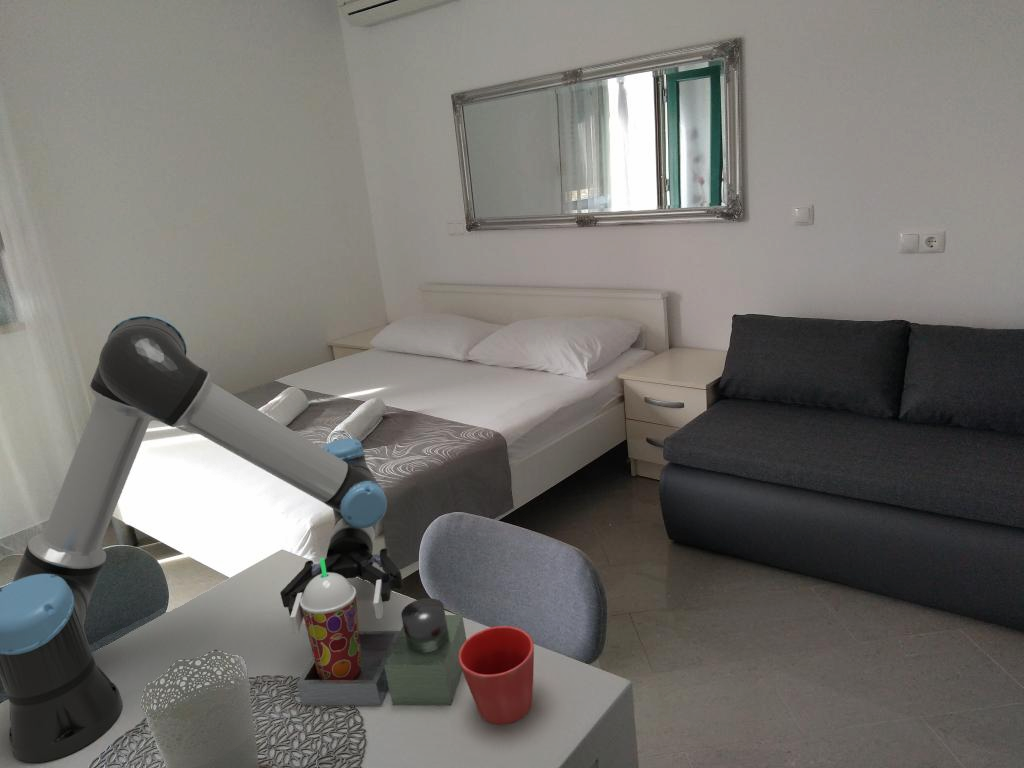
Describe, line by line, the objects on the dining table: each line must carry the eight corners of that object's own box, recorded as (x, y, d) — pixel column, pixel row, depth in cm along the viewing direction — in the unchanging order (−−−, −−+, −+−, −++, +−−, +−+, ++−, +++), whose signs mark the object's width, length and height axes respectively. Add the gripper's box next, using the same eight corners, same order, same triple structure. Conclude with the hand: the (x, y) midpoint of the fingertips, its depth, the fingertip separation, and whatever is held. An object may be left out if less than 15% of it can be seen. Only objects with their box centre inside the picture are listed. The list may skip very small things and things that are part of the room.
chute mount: (302, 705, 115) (285, 638, 111) (333, 651, 126) (319, 589, 123) (450, 706, 110) (437, 636, 107) (469, 651, 122) (457, 586, 118)
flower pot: (453, 723, 107) (443, 665, 104) (491, 673, 116) (482, 619, 113) (520, 742, 102) (511, 682, 99) (553, 689, 111) (546, 632, 108)
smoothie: (332, 654, 124) (314, 543, 119) (377, 661, 121) (360, 548, 116) (302, 687, 116) (281, 570, 111) (350, 695, 113) (330, 576, 108)
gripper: (422, 553, 134) (420, 625, 113) (287, 576, 133) (260, 653, 112) (415, 515, 132) (412, 582, 111) (278, 538, 131) (248, 609, 110)
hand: (336, 618), depth 112 cm, fingers open, 11 cm apart
